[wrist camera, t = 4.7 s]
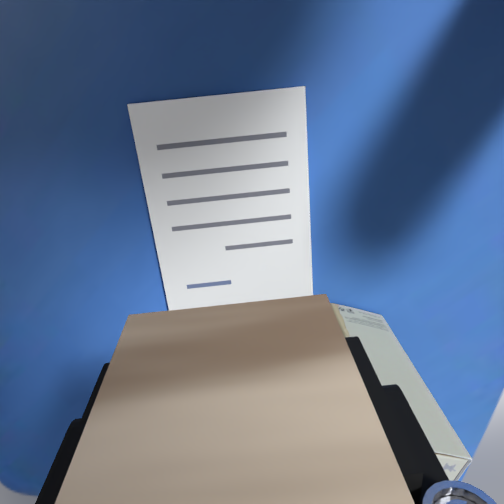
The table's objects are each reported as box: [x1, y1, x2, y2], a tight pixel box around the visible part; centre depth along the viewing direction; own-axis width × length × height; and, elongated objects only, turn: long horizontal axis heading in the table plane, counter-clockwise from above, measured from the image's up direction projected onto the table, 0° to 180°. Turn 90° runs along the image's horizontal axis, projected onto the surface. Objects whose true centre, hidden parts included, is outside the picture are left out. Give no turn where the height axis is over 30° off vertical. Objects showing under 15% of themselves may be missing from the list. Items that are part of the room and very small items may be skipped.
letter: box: [127, 86, 313, 311], centre depth 26 cm, size 14×10×1 cm
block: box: [55, 294, 415, 504], centre depth 9 cm, size 5×5×6 cm
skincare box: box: [330, 303, 472, 481], centre depth 25 cm, size 6×4×12 cm
